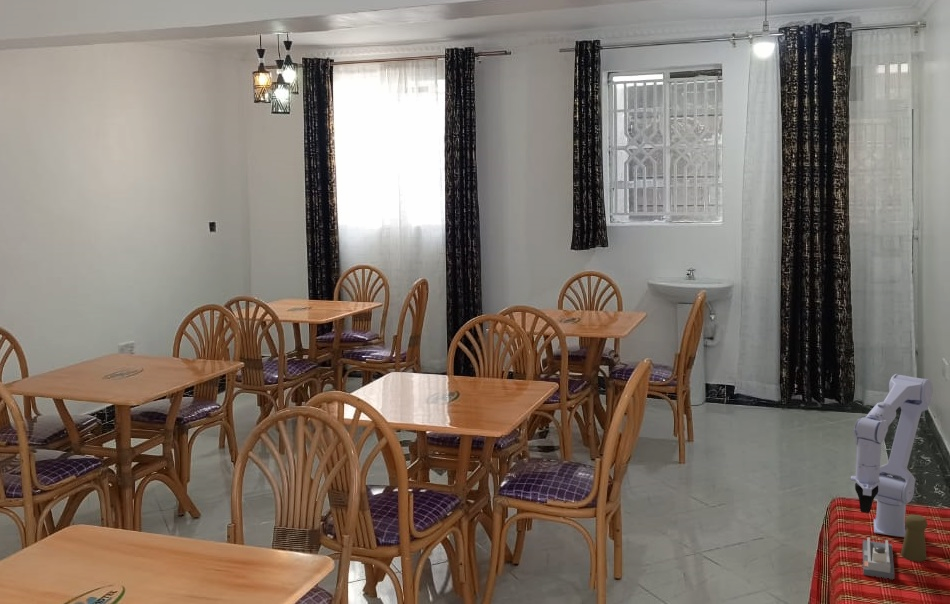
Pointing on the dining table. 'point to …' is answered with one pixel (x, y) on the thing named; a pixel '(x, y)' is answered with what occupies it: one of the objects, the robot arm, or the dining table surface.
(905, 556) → the brown tall tapered piece
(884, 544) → the board
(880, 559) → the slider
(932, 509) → the dining table surface
